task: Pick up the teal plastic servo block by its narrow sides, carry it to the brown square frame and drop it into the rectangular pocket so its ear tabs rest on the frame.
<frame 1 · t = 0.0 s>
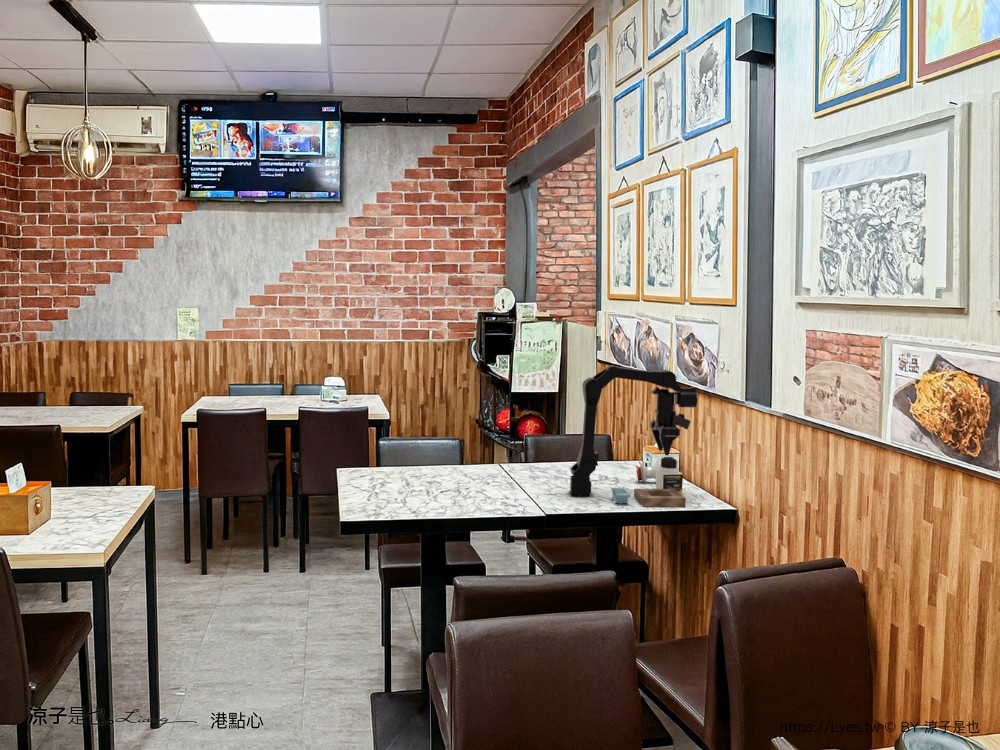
hand: (663, 452, 310), 15 cm above the table, tool pointing down, fingers open, 9 cm apart
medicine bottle: (668, 492, 318), on the table
servo block: (620, 502, 301), on the table
brown square frame: (659, 502, 302), on the table
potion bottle: (657, 483, 332), on the table
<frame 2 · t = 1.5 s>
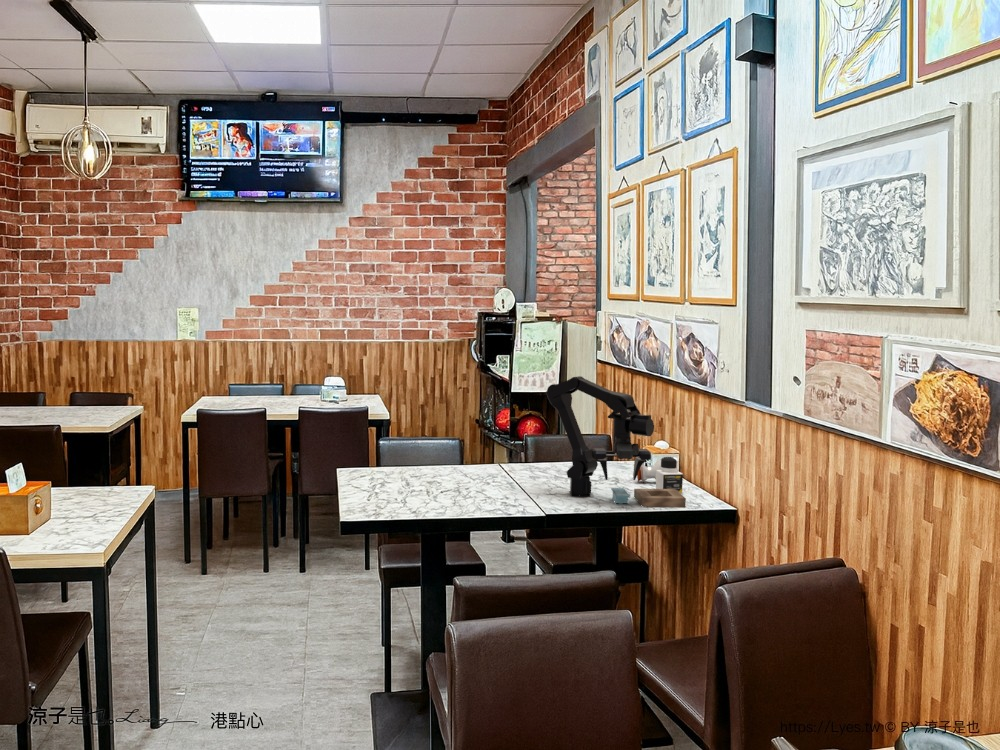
hand: (620, 479, 300), 7 cm above the table, tool pointing down, fingers open, 9 cm apart
nothing on the table moved.
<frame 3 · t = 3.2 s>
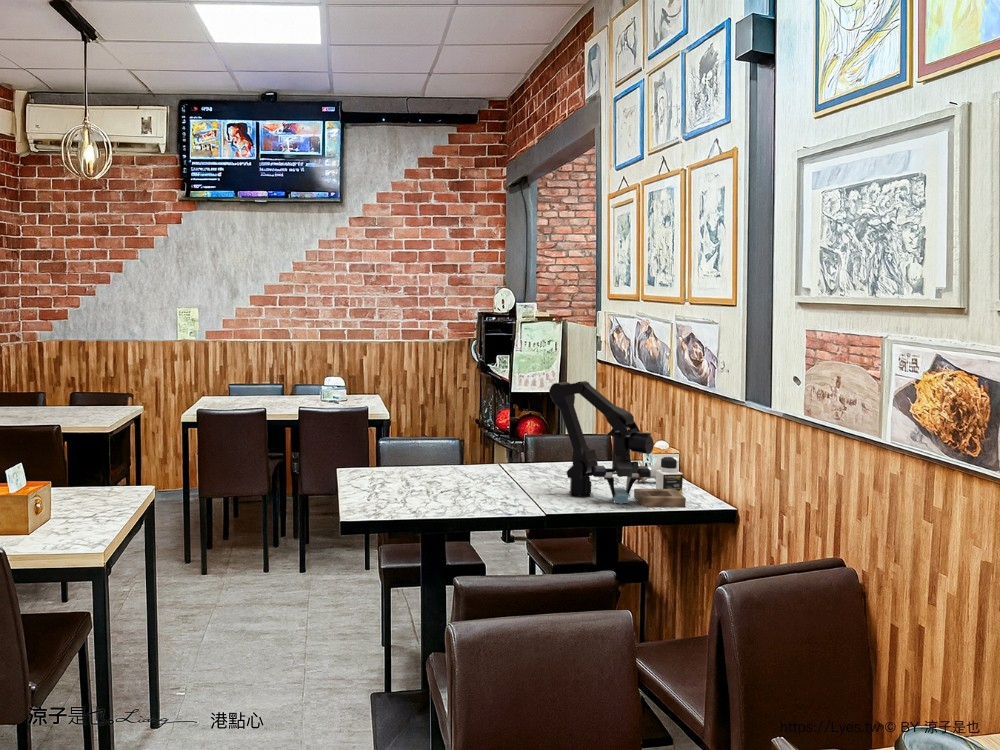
hand: (620, 497, 301), 2 cm above the table, tool pointing down, fingers closed on servo block, 4 cm apart
servo block: (619, 501, 301), on the table, touching gripper
everything else where it was.
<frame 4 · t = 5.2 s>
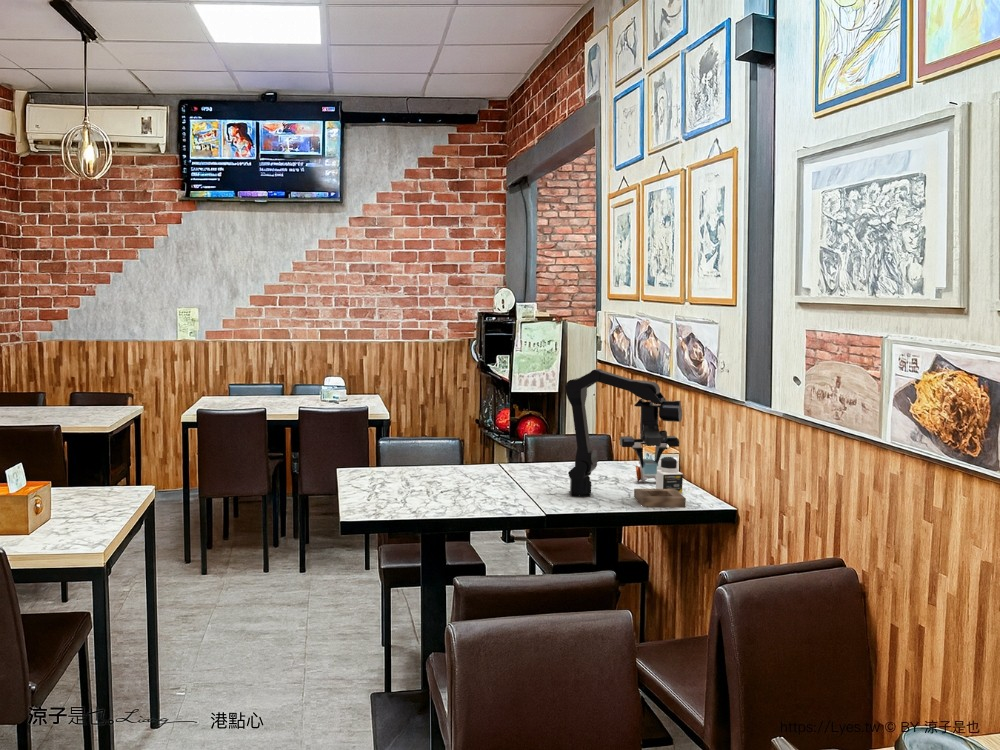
hand: (648, 467, 300), 12 cm above the table, tool pointing down, fingers closed on servo block, 4 cm apart
servo block: (648, 472, 300), point 10 cm above the table, touching gripper
everything else where it was.
when the fingers open (4 cm above the table, at t = 7.2 s): servo block drops 3 cm, resting in brown square frame.
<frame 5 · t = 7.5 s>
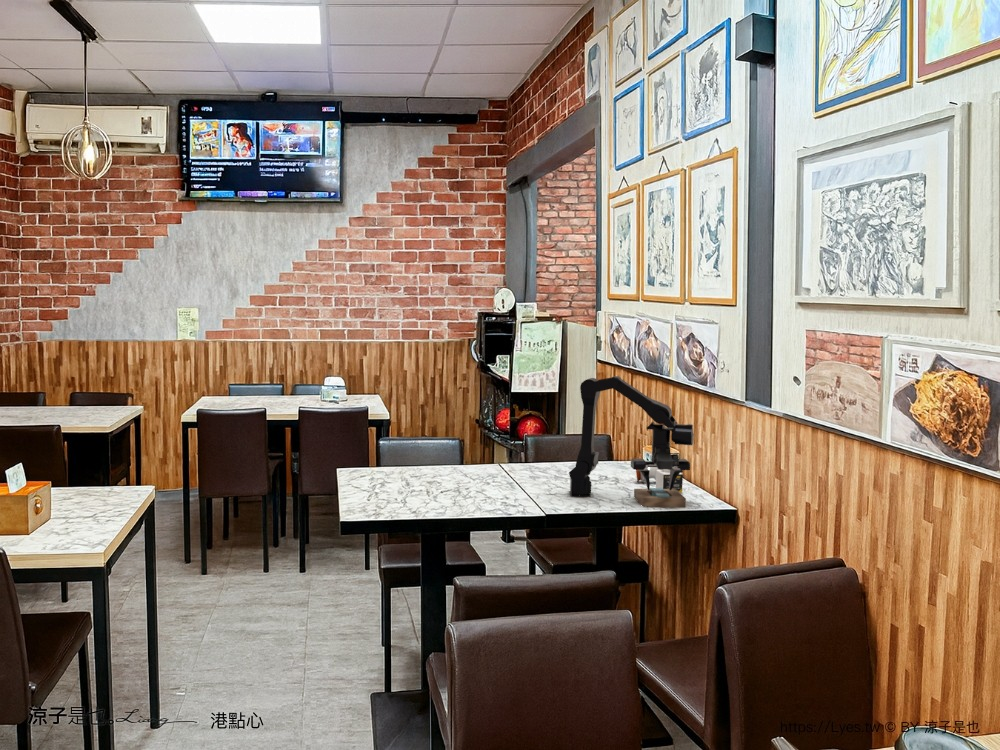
hand: (659, 490, 301), 4 cm above the table, tool pointing down, fingers open, 7 cm apart
servo block: (659, 502, 302), resting in brown square frame
everything else where it was.
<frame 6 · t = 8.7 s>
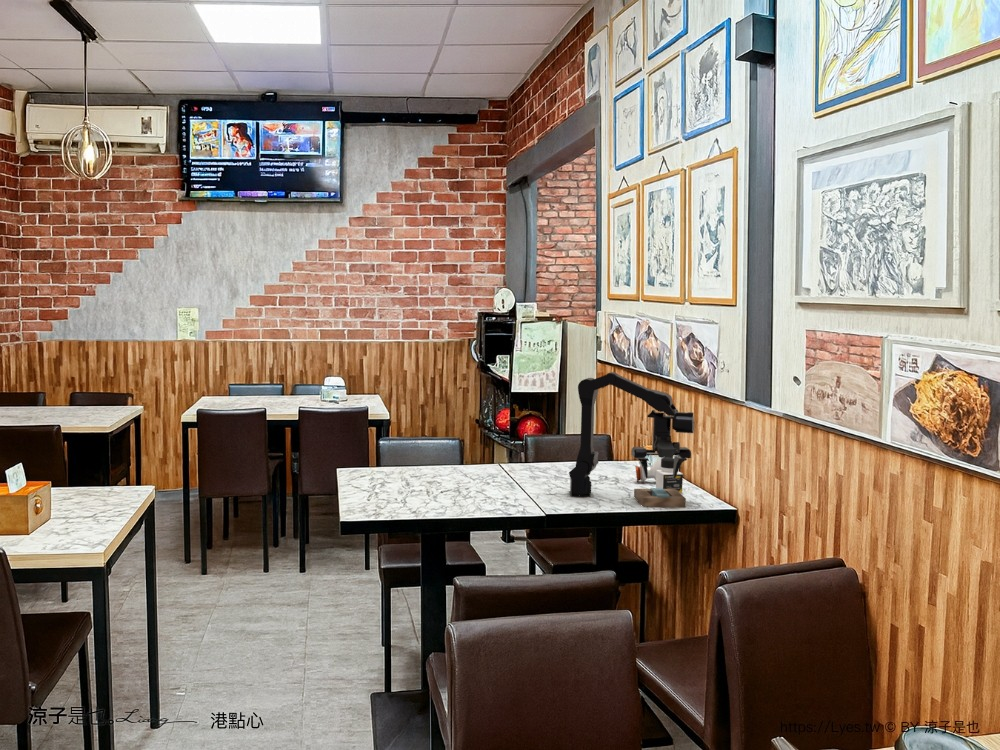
hand: (660, 478, 301), 8 cm above the table, tool pointing down, fingers open, 9 cm apart
servo block: (659, 502, 302), resting in brown square frame
everything else where it was.
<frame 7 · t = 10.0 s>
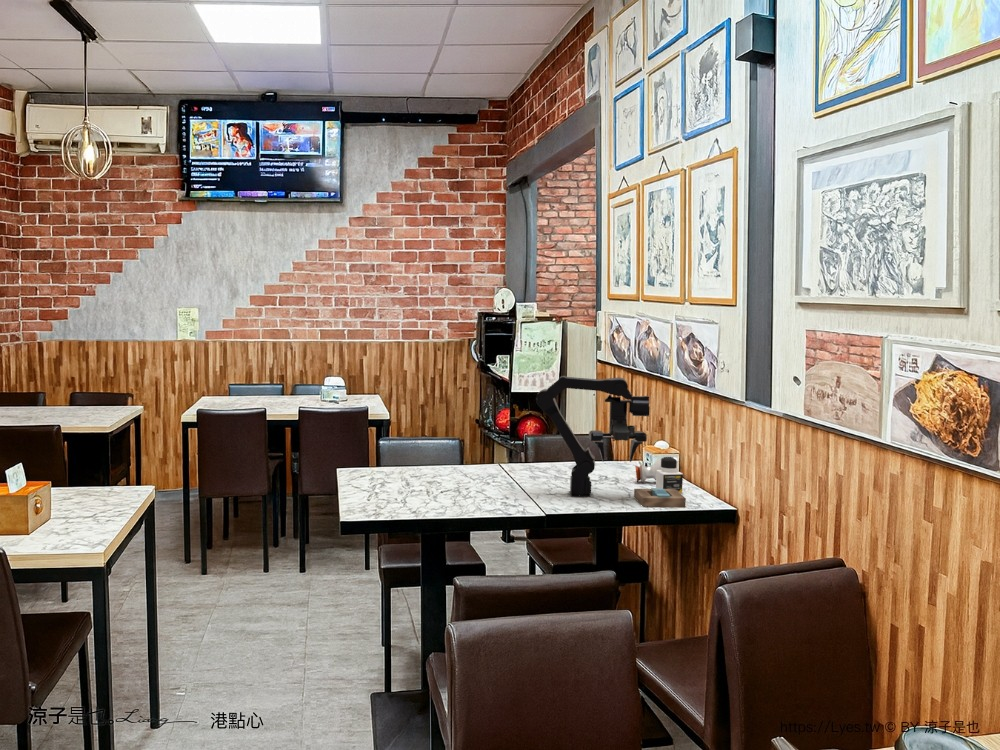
hand: (616, 461, 308), 12 cm above the table, tool pointing down, fingers open, 9 cm apart
nothing on the table moved.
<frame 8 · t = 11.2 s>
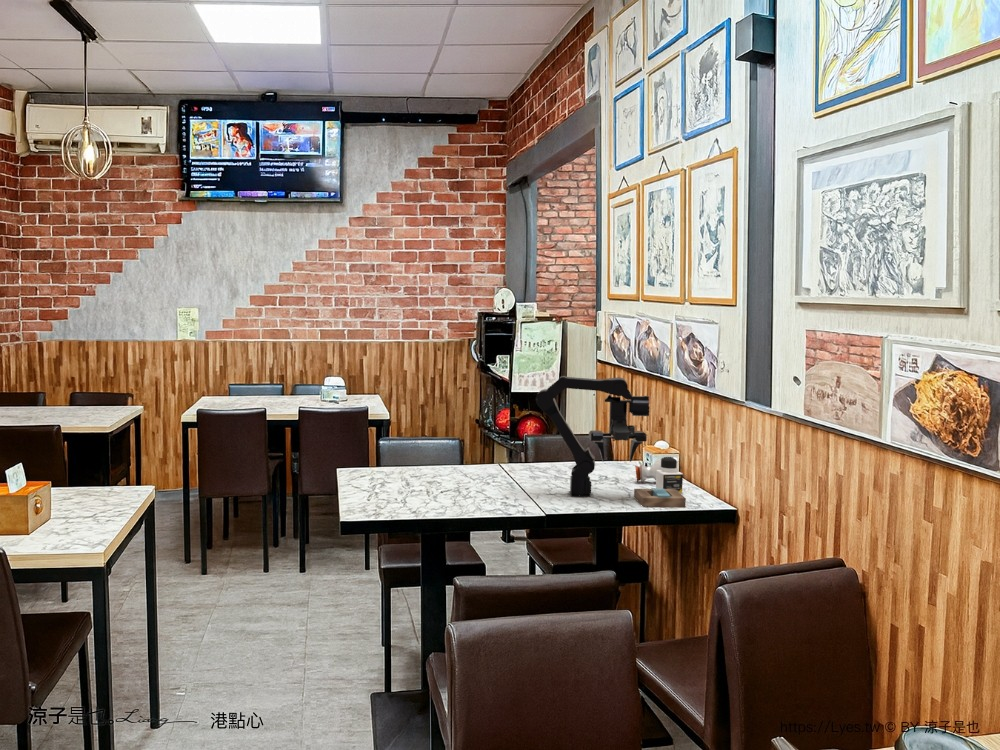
hand: (616, 461, 308), 12 cm above the table, tool pointing down, fingers open, 9 cm apart
nothing on the table moved.
at the end: servo block 0.6 cm off-centre on the brown square frame, point 0.0 cm above the brown square frame's base; servo block tilted 0°; the gripper is holding nothing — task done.
